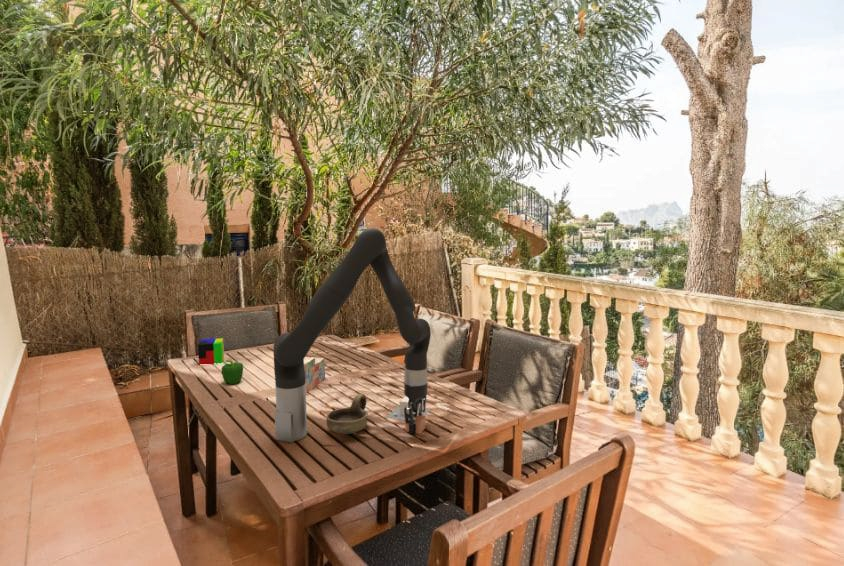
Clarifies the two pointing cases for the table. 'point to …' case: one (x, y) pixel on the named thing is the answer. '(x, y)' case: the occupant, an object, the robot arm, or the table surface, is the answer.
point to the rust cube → (418, 424)
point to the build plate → (396, 415)
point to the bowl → (349, 417)
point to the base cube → (404, 405)
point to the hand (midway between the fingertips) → (415, 430)
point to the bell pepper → (232, 372)
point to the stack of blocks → (313, 371)
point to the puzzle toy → (211, 351)
